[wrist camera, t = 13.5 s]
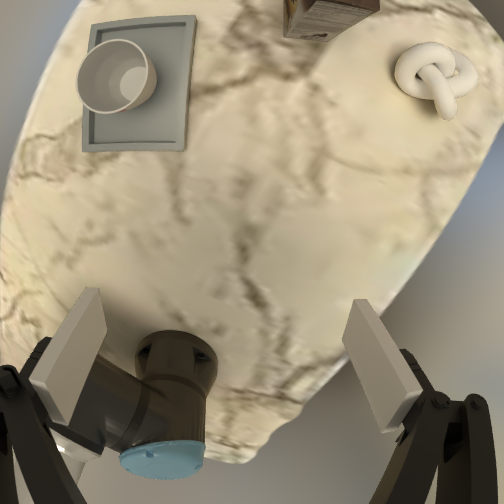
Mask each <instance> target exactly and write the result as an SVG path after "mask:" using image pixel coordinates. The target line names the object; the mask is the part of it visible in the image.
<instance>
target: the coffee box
mask: <svg viewBox="0 0 504 504" xmlns="http://www.w3.org/2000/svg"><path fill="white" fill-rule="evenodd" d="M379 10H380V2H379V0H284V37H288V38H299V39H308V40H317V41H325V42H328V41H329V40H330V39H332V38H334V37H335V36H337V35H338V34H340V33H341V32H343V31H345V30H346V29H348V28H350V27H351V26H353V25H355V24H356V23H358V22H360V21H361V20H363V19H365V18H367V17H368V16H370V15H372V14H374V13H376V12H377V11H379Z"/></svg>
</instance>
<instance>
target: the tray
mask: <svg viewBox="0 0 504 504" xmlns="http://www.w3.org/2000/svg"><path fill="white" fill-rule="evenodd" d="M196 27H197V19H196V16H195V15H177V16H157V17H144V18H134V19H125V20H117V21H110V22H104V23H98V24H92V25H91V30H90V37H89V44H88V52H87V54H88V53H89V52H90V51H91V50H92V49H93V48H94V47H96V46H97V45H99V44H101V43H103V42H105V41H108V40H113V39H124V40H128V41H131V42H133V43H135V44H136V45H138V46H139V47H140V48H141V49H142V50H143V51H144V52H145V53H146V55H147V56H148V57H149V58H150V59H151V61H152V63H153V65H154V68H155V70H156V73H157V85H156V88H155V90H154V92H153V94H152V95H151V97H150V98H149V99H148V100H147V101H145V102H144V103H142V104H141V105H139V106H137V107H135V108H133V109H130V110H127V111H122V112H115V113H109V114H101V113H96V112H94V111H91V110H90V109H88V108H87V107H86V106H85V105H84V104H83V117H82V152H99V151H184V150H185V149H186V140H187V123H188V108H189V95H190V83H191V72H192V62H193V52H194V43H195V35H196Z"/></svg>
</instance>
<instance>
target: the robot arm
mask: <svg viewBox="0 0 504 504" xmlns="http://www.w3.org/2000/svg"><path fill="white" fill-rule="evenodd" d="M107 331H108V330H107V326H106V321H105V316H104V311H103V306H102V301H101V296H100V290H99V288H90V287H86V288H85V290H84V291H83V293H82V294H81V295H80V297H79V298H78V300H77V301H76V303H75V304H74V306H73V307H72V309H71V310H70V312H69V313H68V315H67V316H66V318H65V319H64V321H63V322H62V324H61V326H60V327H59V329H58V330H57V332H56V333H55V335H54V337H53V338H51V337H45V338H44V339H42V340H41V341H40V342H38V344H37V345H36V347H35V348H34V350H33V352H32V353H31V355H30V356H29V357H30V358H28V360H27V361H26V363H25V365H24V366H23V368H22V370H21V371H20V373H18V371H17V369H16V368H15V367H14V366H12V365H2V366H0V504H87V502H86V501H85V499H84V497H83V496H82V494H81V492H80V490H79V489H78V487H77V484H78V481H79V478H80V476H81V473H82V471H83V468H84V466H85V463H86V462H87V461H88V460H92V459H96V458H99V457H101V455H102V452H103V450H104V447H105V446H106V447H108V448H111V449H113V450H115V451H117V452H119V453H120V456H119V459H120V463H121V465H122V467H124V468H125V469H126V470H127V471H129V472H131V473H133V474H135V475H139V476H142V477H146V478H151V479H161V480H173V479H181V478H185V477H189V476H191V475H194V474H195V473H197V472H198V471H199V470H200V468H201V467H202V465H203V458H204V450H205V448H206V446H205V414H206V398H207V396H208V394H209V392H210V390H211V388H212V386H213V384H214V382H215V380H216V377H217V366H218V363H217V358H216V355H215V353H214V351H213V350H212V349H211V347H210V346H209V345H208V344H207V343H205V342H204V341H203V340H201V339H199V338H198V337H196V336H193V335H191V334H188V333H184V332H180V331H160V332H156V333H153V334H151V335H149V336H147V337H146V338H144V339H143V340H142V342H141V343H140V344H139V346H138V349H137V352H136V355H135V370H136V377H137V378H136V377H134V376H132V375H131V374H129V373H127V372H126V371H124V370H122V369H121V368H119V367H118V366H116V365H114V364H113V363H111V362H110V361H108V360H107V359H105V358H103V357H102V356H100V355H99V354H97V353H98V351H99V349H100V346H101V344H102V342H103V340H104V338H105V335H106V333H107ZM342 341H343V343H344V346H345V348H346V350H347V352H348V355H349V357H350V359H351V361H352V364H353V366H354V368H355V371H356V373H357V375H358V377H359V380H360V382H361V384H362V387H363V389H364V391H365V394H366V396H367V399H368V401H369V403H370V406H371V408H372V411H373V413H374V415H375V418H376V420H377V423H378V425H379V428H380V430H381V433H385V432H390V431H395V430H397V429H398V427H399V425H400V424H401V423H403V425H404V427H405V429H404V430H403V432H402V433H401V435H400V436H399V437H398V438H397V440H396V441H395V442H398V443H397V446H396V448H395V451H394V453H393V455H392V457H391V460H390V462H389V464H388V466H387V468H386V471H385V473H384V475H383V477H382V479H381V481H380V483H379V485H378V487H377V489H376V491H375V493H374V495H373V497H372V499H371V501H370V502H369V504H424V503H425V501H426V498H427V495H428V493H429V490H430V487H431V484H432V481H433V478H434V475H435V472H436V469H437V466H438V477H437V491H436V502H435V504H498V486H497V469H496V459H495V458H496V457H495V449H494V440H493V433H492V426H491V420H490V414H489V409H488V404H487V402H486V400H485V399H484V398H483V397H481V396H480V395H478V394H470V395H468V396H467V397H466V399H465V400H464V401H451V400H450V398H449V397H448V396H447V395H446V394H444V393H442V392H438V391H435V390H434V388H433V387H432V385H431V383H430V382H429V380H428V378H427V377H426V375H425V374H424V372H423V371H422V370H421V367H420V366H419V364H418V363H417V361H416V359H415V358H414V356H413V355H412V354H411V353H410V352H408V351H407V350H406V349H398V347H397V346H396V344H395V342H394V341H393V339H392V338H391V336H390V335H389V333H388V331H387V330H386V328H385V327H384V325H383V324H382V322H381V321H380V319H379V317H378V316H377V314H376V313H375V311H374V310H373V308H372V307H371V305H370V303H369V302H368V300H367V299H354V301H353V304H352V308H351V311H350V314H349V318H348V321H347V324H346V328H345V331H344V334H343V337H342ZM12 446H13V449H14V453H15V455H16V459H17V460H16V463H15V465H14V463H13V453H12V452H13V451H12Z"/></svg>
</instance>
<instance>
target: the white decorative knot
mask: <svg viewBox="0 0 504 504" xmlns="http://www.w3.org/2000/svg"><path fill="white" fill-rule="evenodd" d="M434 64H435V65H434ZM455 69H456V70H457V71H458V72H459V74H458V75H457V76H454V77H452V76H453V73H454V70H455ZM416 73H417V74H418V75H419V76H420V77H421V78H422V79H418V78H416V77H415V75H416ZM394 75H395V80H396V82H397V84H398V85H399V87H400V88H401V89H402V90H403V91H404V92H405V93H407V94H408V95H410V96H413V97H416V98H421V99H431V100H434V104H435V108H436V110H437V113H438V115H439V116H440V117H441V118H442V119H443V120H447V121H450V120H453V119H454V118H455V116H456V115H457V104H456V100H455V98H459V97H462V96H465V95H467V94H469V93H470V92H472V91H473V90H474V89H475V87H476V86H477V84H478V80H479V75H478V72H477V69H476V67H475V65H474V64H473V62H472V61H471V60H470V59H469V58H468V57H467V56H465V55H464V54H462V53H461V52H459V51H457V50H454V49H451V48H449V47H446V46H444V45H442V44H440V43H437V42H424V43H420V44H417V45H415V46H413V47H411V48H409V49H408V50H406V51H405V52H404V53H403V54H402V55H401V56H400V58H399V59H398V61H397V63H396V66H395V74H394Z"/></svg>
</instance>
